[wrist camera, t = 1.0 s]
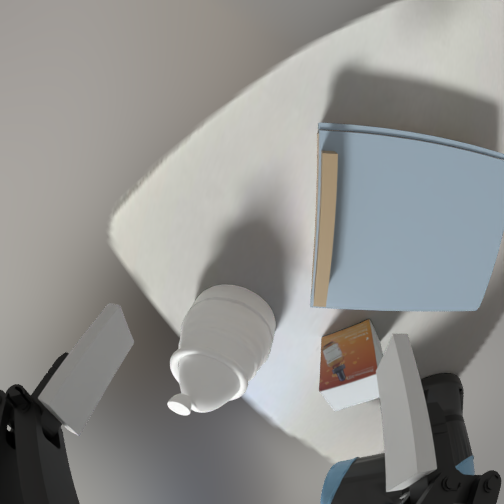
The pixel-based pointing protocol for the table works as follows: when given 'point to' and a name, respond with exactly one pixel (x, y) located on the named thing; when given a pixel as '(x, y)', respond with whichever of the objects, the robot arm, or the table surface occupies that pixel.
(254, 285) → the table surface
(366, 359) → the small box
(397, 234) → the lid
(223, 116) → the table surface
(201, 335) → the honey pot
